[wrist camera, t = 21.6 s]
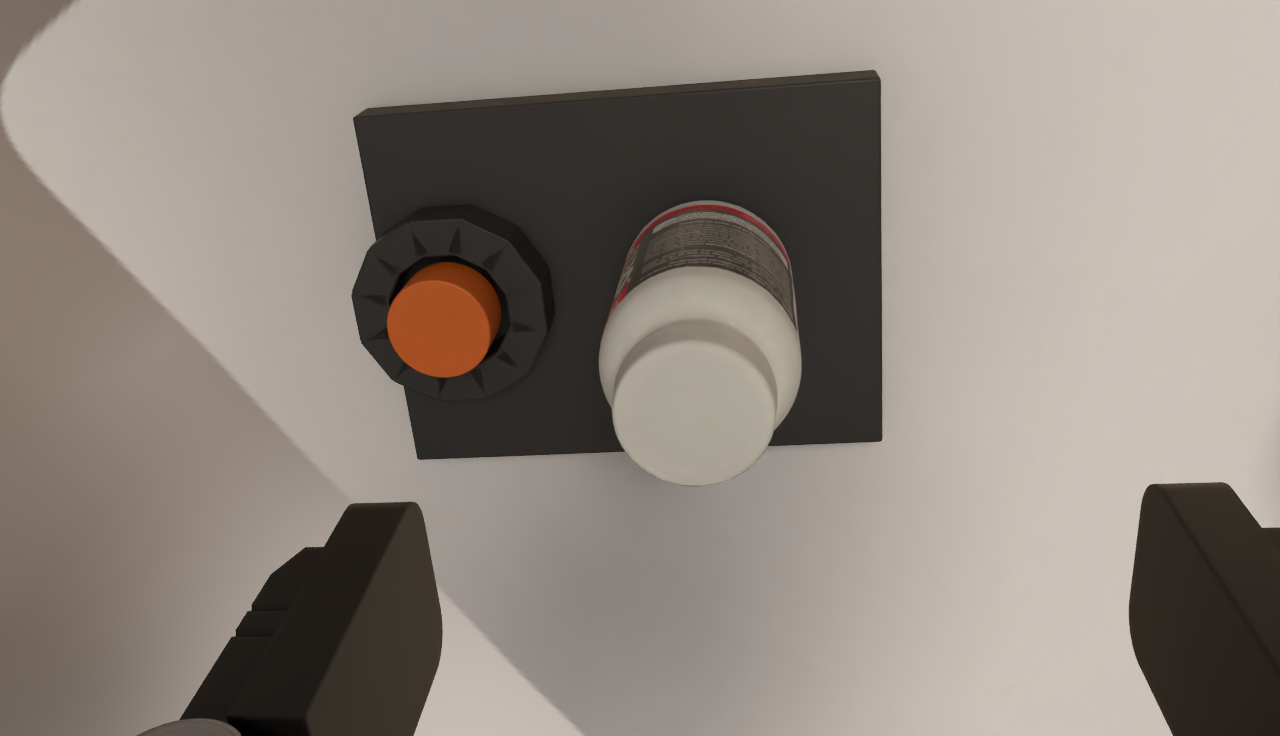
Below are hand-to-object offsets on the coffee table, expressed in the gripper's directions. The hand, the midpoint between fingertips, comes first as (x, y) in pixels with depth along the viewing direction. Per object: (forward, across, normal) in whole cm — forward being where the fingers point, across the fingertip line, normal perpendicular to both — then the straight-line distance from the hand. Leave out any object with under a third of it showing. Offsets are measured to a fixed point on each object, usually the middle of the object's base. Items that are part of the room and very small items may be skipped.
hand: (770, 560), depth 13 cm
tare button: (+22, +10, +6) cm, 25 cm away
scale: (+25, +4, +6) cm, 26 cm away
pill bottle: (+24, +2, +5) cm, 24 cm away
